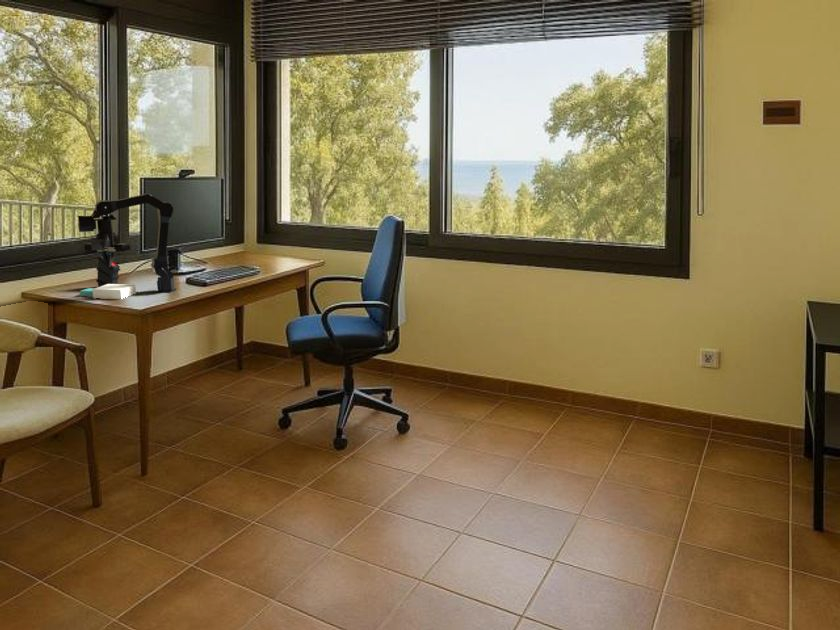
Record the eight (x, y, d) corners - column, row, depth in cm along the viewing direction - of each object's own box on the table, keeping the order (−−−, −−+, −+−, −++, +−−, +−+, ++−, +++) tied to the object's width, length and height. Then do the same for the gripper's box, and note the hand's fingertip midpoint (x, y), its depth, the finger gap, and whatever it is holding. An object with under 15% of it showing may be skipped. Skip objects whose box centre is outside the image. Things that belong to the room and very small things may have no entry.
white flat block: (136, 293, 328) (135, 284, 327) (121, 299, 316) (120, 290, 315) (109, 292, 330) (108, 283, 329) (93, 298, 318) (92, 289, 317)
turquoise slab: (105, 293, 327) (105, 288, 327) (97, 296, 321) (96, 291, 321) (89, 292, 329) (88, 288, 328) (80, 295, 323) (80, 290, 322)
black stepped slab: (99, 282, 346) (105, 254, 339) (117, 296, 341) (123, 268, 335) (92, 283, 343) (98, 255, 336) (110, 298, 338) (116, 270, 332)
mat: (107, 292, 329) (107, 292, 329) (96, 297, 321) (96, 296, 321) (87, 292, 331) (87, 291, 331) (74, 296, 322) (74, 295, 322)
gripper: (73, 232, 310) (77, 269, 314) (114, 233, 307) (118, 270, 310) (89, 229, 321) (93, 265, 324) (129, 230, 318) (132, 266, 321)
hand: (109, 266), depth 320 cm, fingers closed
